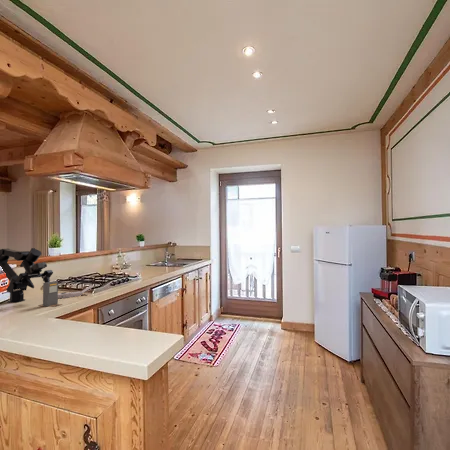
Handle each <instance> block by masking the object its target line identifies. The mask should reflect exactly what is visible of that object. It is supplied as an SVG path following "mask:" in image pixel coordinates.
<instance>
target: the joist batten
mask: <svg viewBox="0 0 450 450" xmlns="http://www.w3.org/2000/svg"><path fill="white" fill-rule="evenodd" d="M62 305H63V304H62V303H61V304H60V303H58V304H55V305H51V306H49V307H50V308H51V307H52V308H53V307H54V308H55V307H60V306H62ZM37 306H39V307H44V306H43V303H42V304H39V305H37Z"/></svg>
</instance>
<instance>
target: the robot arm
mask: <svg viewBox="0 0 450 450" xmlns="http://www.w3.org/2000/svg"><path fill="white" fill-rule="evenodd" d="M41 256H42V251H41V250H39V249H36V247H35V248H34V247H33V248H32V247H31V249H30V250H27V251H25V250H24V251H23V250H22V251H19V250H15V249H10V248H0V266H1V267H2V269H3V271H4V272H5V273H6V276H5V277H6V278H7V279H8V280H9V284H8V286H7V288H6V293H9V300H8V301H7V303H18V302H23V301H25V300H26V299H24V297H25V296H24V295H25V294H24V291H27V288H28V287H30V288H31V289H34V288H35V285H34V282H32V280H31V279H35V278H41V279H42V281H43V283H46V282H51V279H50V278H51V277H52V275H53V274H54V270H52V269H46V268H47V267H48V264H47V262H46V261H44V262H37V261H38V260H39V258H40V257H41ZM10 258H13V259H14V260H16V261H17V262H20V261H21V262H20V268H23V269H24V270H25V271H24V272H20V273H19V274H17V273H16V272H15V270H14V269H13V268H12V267H11V265H10V264H9V263H8V262H9V259H10ZM43 269H46V270H44V271H43ZM42 271H43V272H42Z"/></svg>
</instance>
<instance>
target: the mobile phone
mask: <svg viewBox="0 0 450 450" xmlns="http://www.w3.org/2000/svg"><path fill="white" fill-rule="evenodd" d="M94 287H95V286H94V285H92V284H91V285H89V286H88V287H86V288H84V289H83V290H81V291H73V292H72V291H71V292H60V293H59V292H58V299H68V298H75V296H76V297H81V296H80V295H82V296H83V293H85V292H88V291H89V290H91V289H92V288H94Z"/></svg>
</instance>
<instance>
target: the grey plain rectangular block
mask: <svg viewBox="0 0 450 450" xmlns="http://www.w3.org/2000/svg"><path fill="white" fill-rule="evenodd" d="M42 284H43V285H42V287H43V288H42V289H43V291H42V304H43V306H42V307H50V306H51V305H55V304H59V303H58V302H59V301H58V299H59V298H58V294H59V281H54V280H53V281H50V282H46V283H45V282H42Z"/></svg>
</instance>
